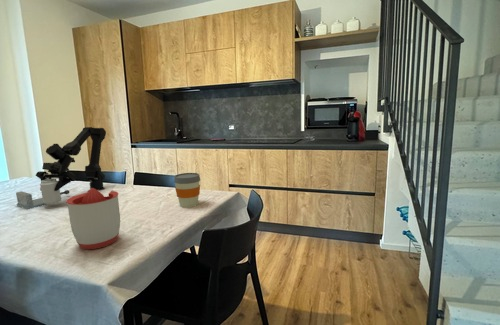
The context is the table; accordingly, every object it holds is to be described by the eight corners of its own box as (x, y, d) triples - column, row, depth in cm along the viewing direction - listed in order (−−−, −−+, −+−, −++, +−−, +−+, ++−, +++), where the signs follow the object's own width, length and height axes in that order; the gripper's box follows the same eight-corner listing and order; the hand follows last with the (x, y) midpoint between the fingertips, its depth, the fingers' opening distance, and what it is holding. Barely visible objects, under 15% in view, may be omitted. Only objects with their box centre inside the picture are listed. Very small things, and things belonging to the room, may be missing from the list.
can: (65, 200, 140) (61, 177, 137) (53, 205, 132) (49, 181, 130) (52, 200, 140) (48, 177, 138) (39, 204, 133) (35, 181, 131)
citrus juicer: (132, 230, 105) (126, 180, 101) (111, 252, 87) (103, 193, 84) (91, 231, 104) (85, 182, 101) (62, 254, 87) (53, 195, 84)
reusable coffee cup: (195, 209, 127) (193, 178, 124) (171, 208, 129) (169, 177, 127) (205, 201, 139) (203, 172, 136) (182, 200, 141) (180, 172, 139)
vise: (64, 194, 159) (62, 182, 157) (75, 197, 152) (73, 185, 151) (16, 205, 140) (14, 192, 139) (27, 209, 133) (24, 195, 132)
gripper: (35, 156, 137) (18, 182, 128) (68, 155, 135) (53, 182, 126) (51, 168, 146) (36, 193, 138) (82, 168, 144) (69, 193, 135)
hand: (48, 190), depth 134 cm, fingers closed on can, 7 cm apart
